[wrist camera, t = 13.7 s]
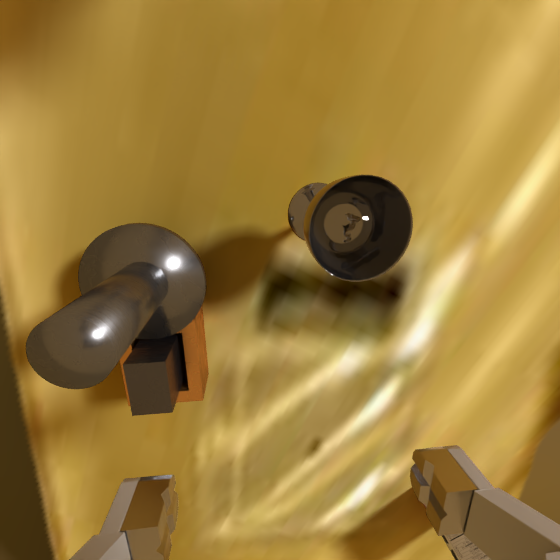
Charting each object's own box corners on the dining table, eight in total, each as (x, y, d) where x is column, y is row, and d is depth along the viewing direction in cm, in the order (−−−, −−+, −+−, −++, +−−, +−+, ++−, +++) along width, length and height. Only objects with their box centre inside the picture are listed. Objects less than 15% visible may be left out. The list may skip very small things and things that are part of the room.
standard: (101, 218, 34) (-80, 257, 15) (208, 215, 36) (163, 250, 16) (130, 378, 41) (28, 547, 22) (220, 372, 42) (199, 527, 23)
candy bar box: (460, 508, 55) (543, 635, 40) (436, 521, 56) (509, 651, 40) (438, 471, 52) (520, 594, 36) (412, 485, 52) (482, 612, 37)
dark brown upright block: (153, 320, 39) (122, 364, 29) (185, 318, 39) (165, 361, 30) (159, 361, 40) (132, 415, 31) (189, 359, 41) (172, 412, 31)
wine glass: (362, 206, 37) (434, 218, 23) (322, 258, 38) (366, 300, 24) (312, 164, 35) (356, 149, 21) (271, 221, 36) (287, 243, 22)
